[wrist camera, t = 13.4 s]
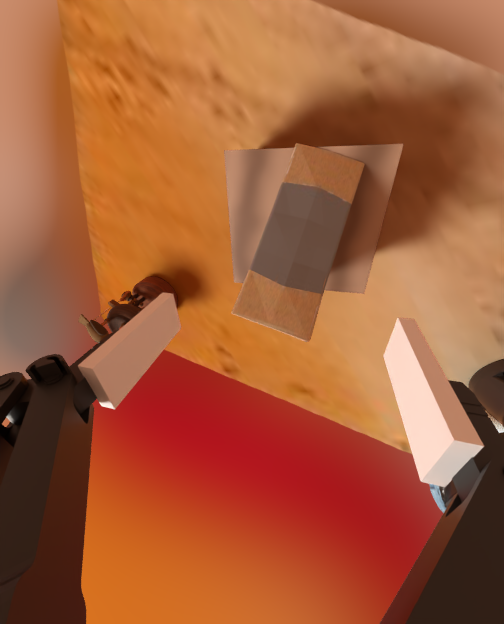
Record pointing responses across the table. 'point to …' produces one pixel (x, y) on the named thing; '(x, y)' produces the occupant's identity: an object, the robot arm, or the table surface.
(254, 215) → the stool
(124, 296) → the small figurine
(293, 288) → the sandwich container
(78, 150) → the table surface
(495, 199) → the table surface
